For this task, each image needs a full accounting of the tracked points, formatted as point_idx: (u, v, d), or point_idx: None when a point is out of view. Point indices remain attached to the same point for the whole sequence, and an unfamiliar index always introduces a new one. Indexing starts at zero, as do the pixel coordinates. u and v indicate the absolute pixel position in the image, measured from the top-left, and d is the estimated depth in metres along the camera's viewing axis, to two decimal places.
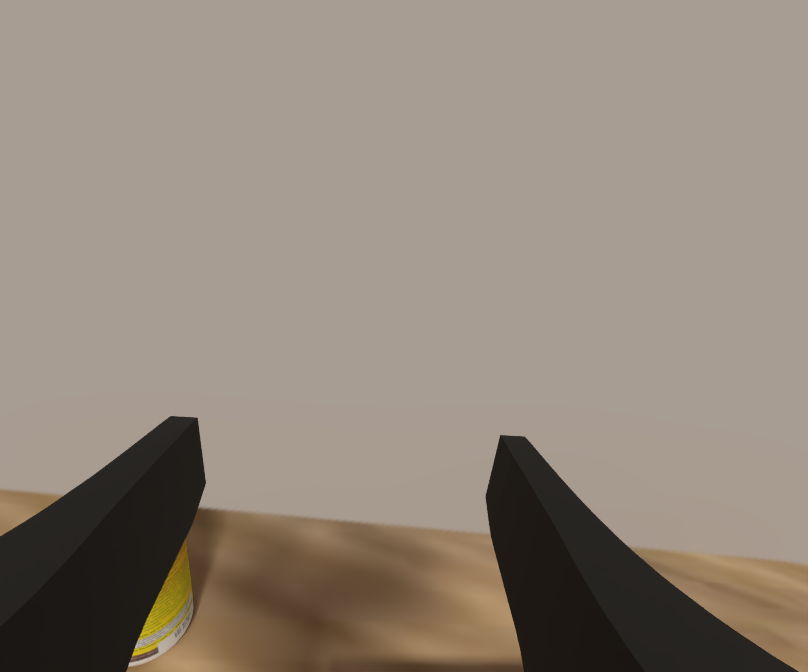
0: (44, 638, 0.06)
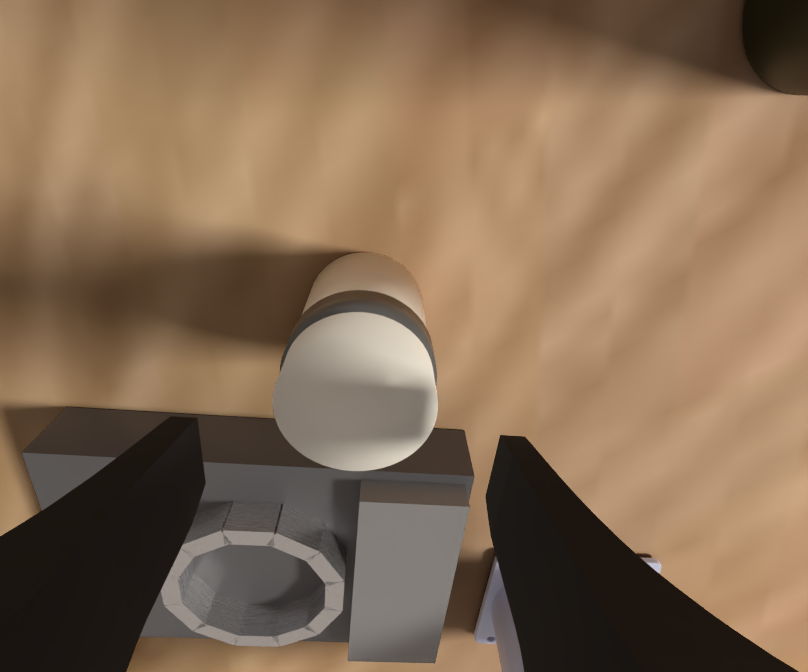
0: (43, 638, 0.06)
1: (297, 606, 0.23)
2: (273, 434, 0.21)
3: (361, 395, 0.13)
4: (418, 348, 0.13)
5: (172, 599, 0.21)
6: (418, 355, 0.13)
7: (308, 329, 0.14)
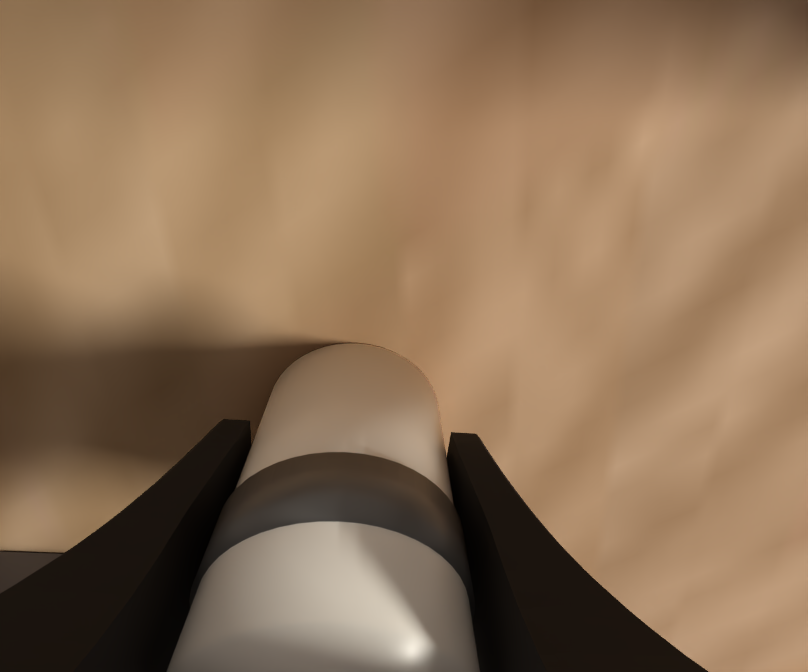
0: (136, 640, 0.06)
1: None
2: None
3: None
4: (446, 597, 0.07)
5: None
6: (448, 627, 0.07)
7: (232, 558, 0.07)
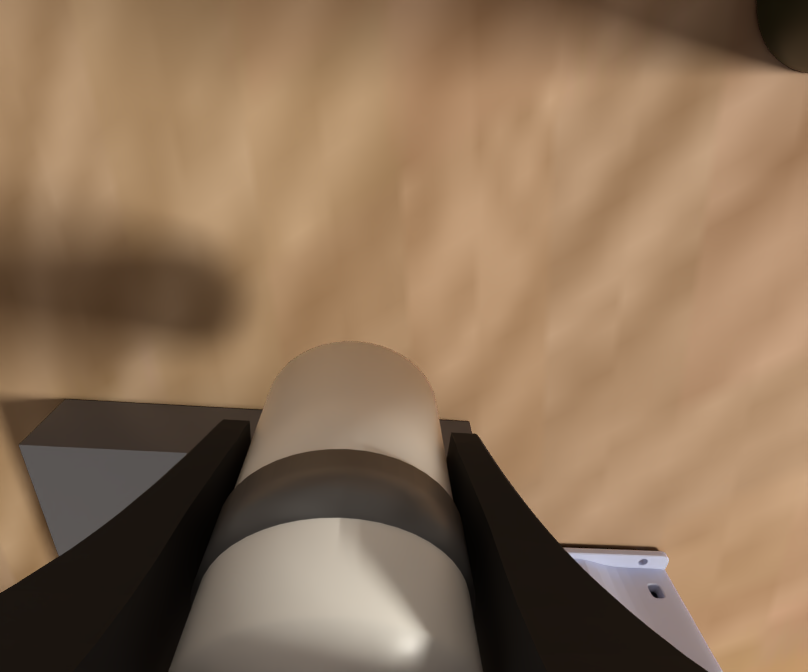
0: (135, 640, 0.06)
1: None
2: None
3: None
4: (447, 592, 0.07)
5: None
6: (450, 621, 0.07)
7: (234, 555, 0.07)
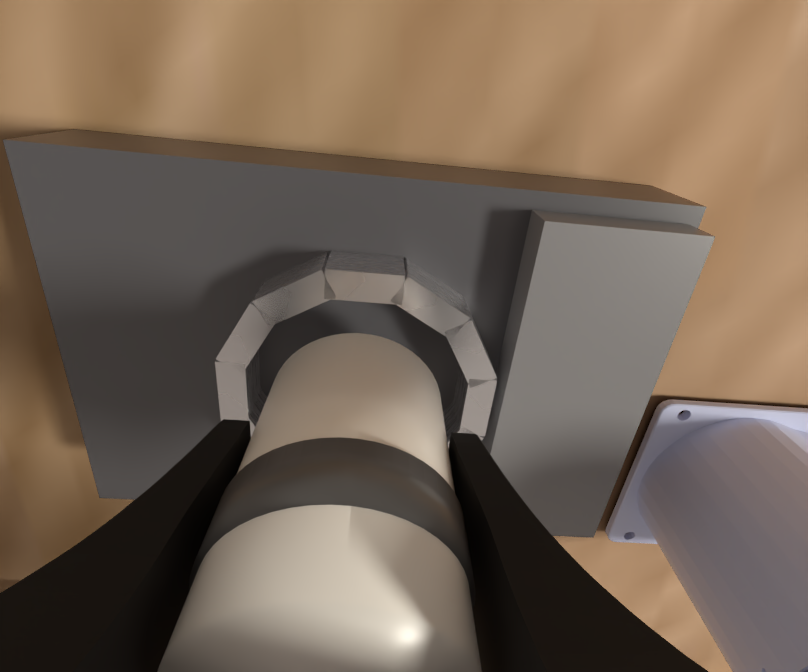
0: (136, 640, 0.06)
1: None
2: (385, 164, 0.14)
3: None
4: (453, 588, 0.07)
5: (234, 409, 0.14)
6: (456, 616, 0.07)
7: (241, 535, 0.07)
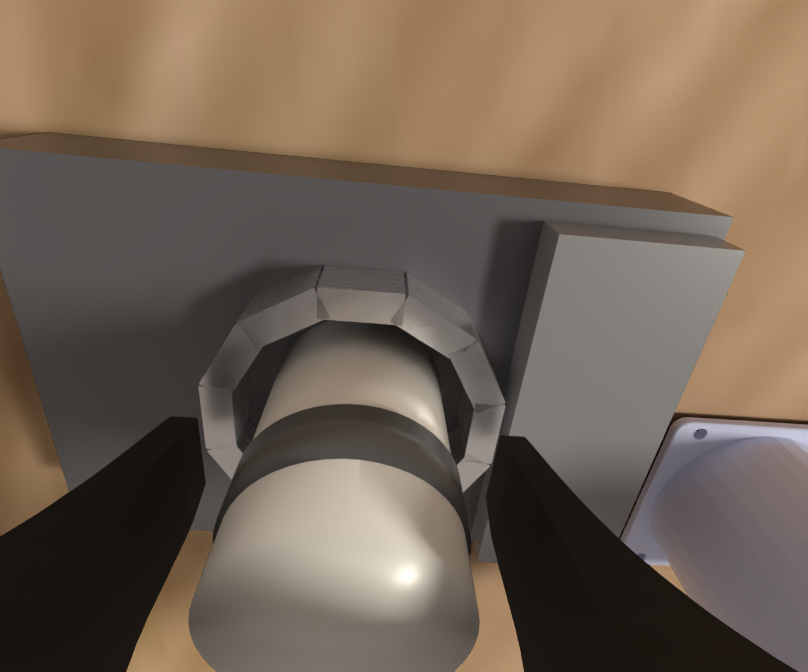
0: (44, 638, 0.06)
1: None
2: (384, 171, 0.13)
3: (348, 615, 0.07)
4: (451, 531, 0.08)
5: (220, 436, 0.13)
6: (454, 554, 0.07)
7: (263, 486, 0.08)
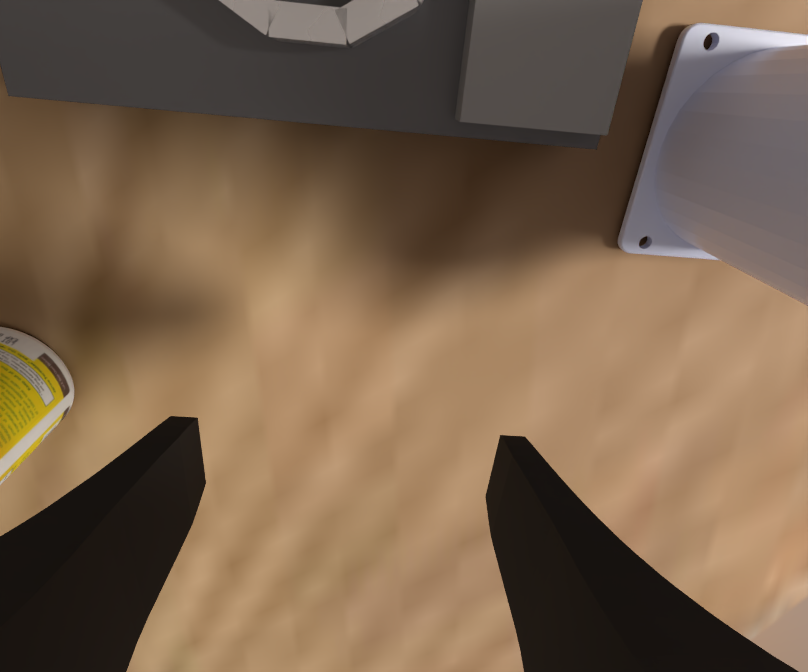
0: (44, 638, 0.06)
1: None
2: None
3: None
4: None
5: None
6: None
7: None
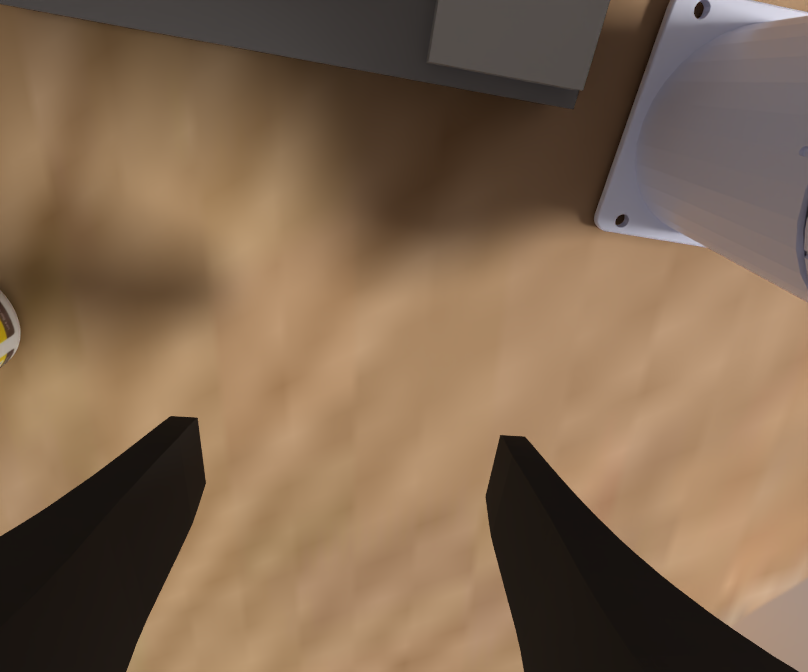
0: (44, 638, 0.06)
1: None
2: None
3: None
4: None
5: None
6: None
7: None
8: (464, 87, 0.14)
